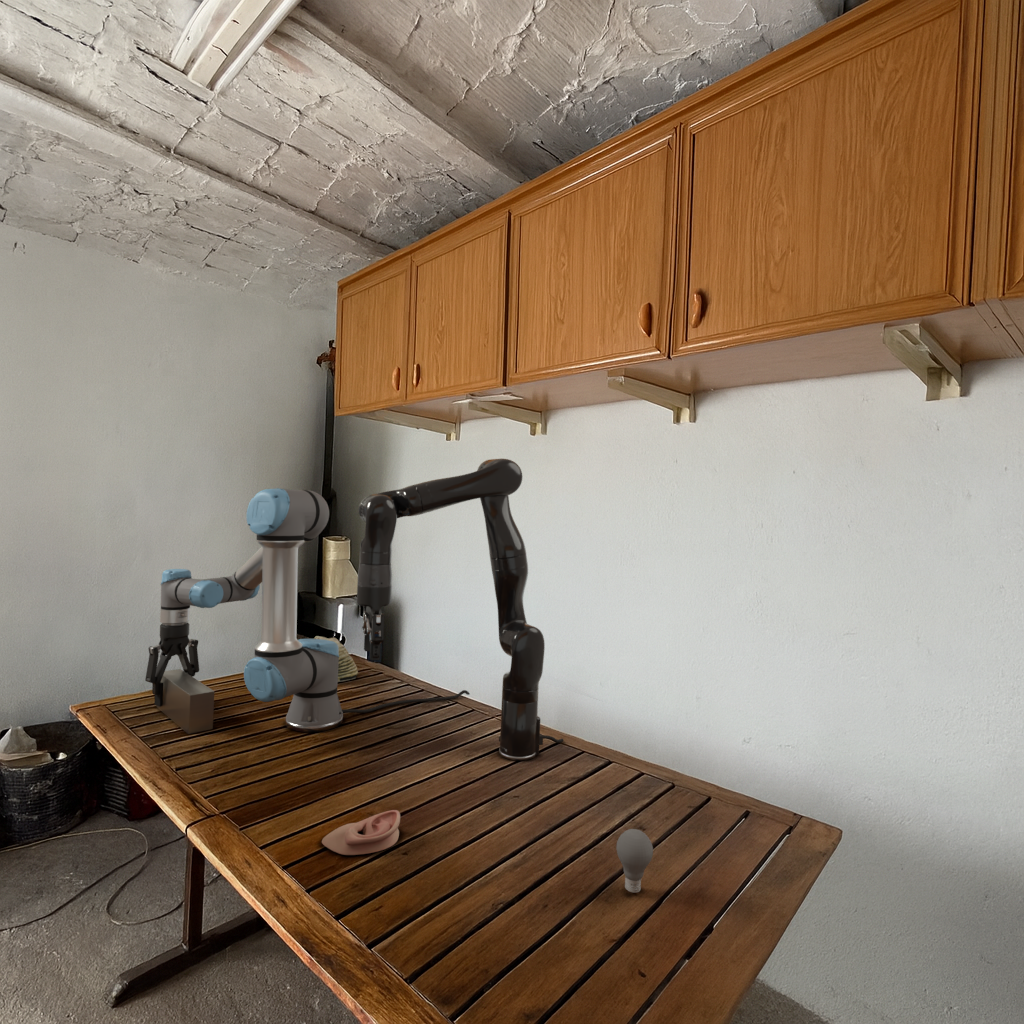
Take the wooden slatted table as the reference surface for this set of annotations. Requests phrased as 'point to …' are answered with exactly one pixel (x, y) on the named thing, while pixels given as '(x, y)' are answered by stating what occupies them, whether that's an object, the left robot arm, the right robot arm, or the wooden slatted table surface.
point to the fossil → (343, 662)
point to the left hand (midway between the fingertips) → (172, 701)
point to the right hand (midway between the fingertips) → (371, 655)
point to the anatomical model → (365, 835)
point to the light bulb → (634, 857)
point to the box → (187, 701)
